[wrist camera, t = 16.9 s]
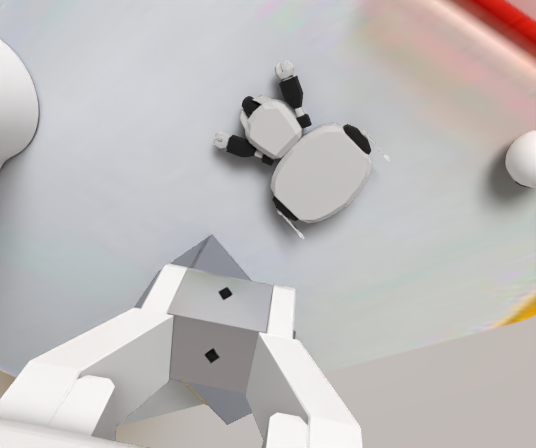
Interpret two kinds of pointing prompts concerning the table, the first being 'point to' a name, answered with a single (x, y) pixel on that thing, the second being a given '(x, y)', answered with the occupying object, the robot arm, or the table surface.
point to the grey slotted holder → (220, 262)
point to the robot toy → (302, 153)
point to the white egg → (523, 160)
